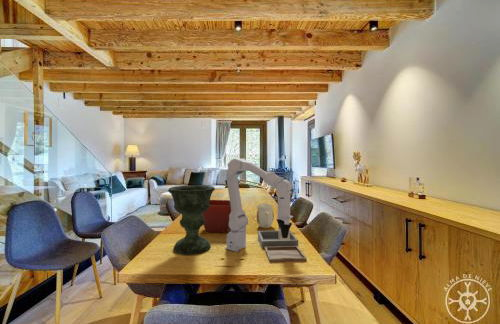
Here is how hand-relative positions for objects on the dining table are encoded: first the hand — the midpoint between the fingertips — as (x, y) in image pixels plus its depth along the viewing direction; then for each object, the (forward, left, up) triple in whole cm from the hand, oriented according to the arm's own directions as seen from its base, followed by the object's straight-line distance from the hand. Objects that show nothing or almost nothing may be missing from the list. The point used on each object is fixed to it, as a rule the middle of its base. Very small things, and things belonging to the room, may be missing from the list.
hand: (283, 236), depth 125 cm
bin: (+13, +12, -9) cm, 20 cm away
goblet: (-20, +40, -9) cm, 46 cm away
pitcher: (+35, +35, -9) cm, 50 cm away
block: (0, 0, -1) cm, 1 cm away
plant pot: (+12, +54, -9) cm, 56 cm away
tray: (-1, -1, -9) cm, 9 cm away
